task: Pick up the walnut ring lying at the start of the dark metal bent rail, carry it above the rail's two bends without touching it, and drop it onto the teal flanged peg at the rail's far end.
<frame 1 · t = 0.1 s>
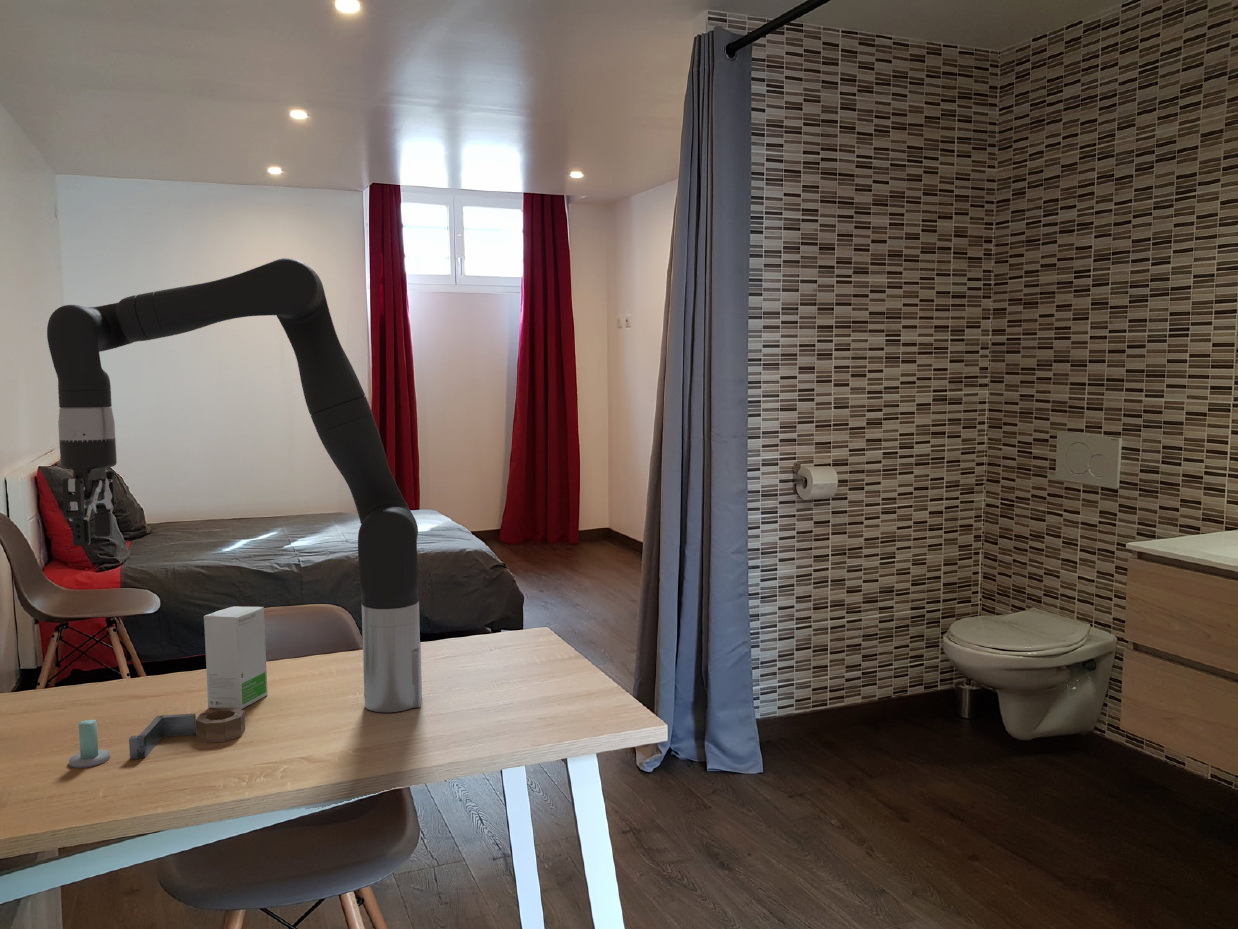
hand: (93, 540, 142), 29 cm above the table, fingers open, 8 cm apart
teal flanged peg: (89, 760, 130), on the table
skincare box: (237, 702, 154), on the table
bent rail: (151, 746, 135), on the table
walnut ring: (221, 734, 139), on the table
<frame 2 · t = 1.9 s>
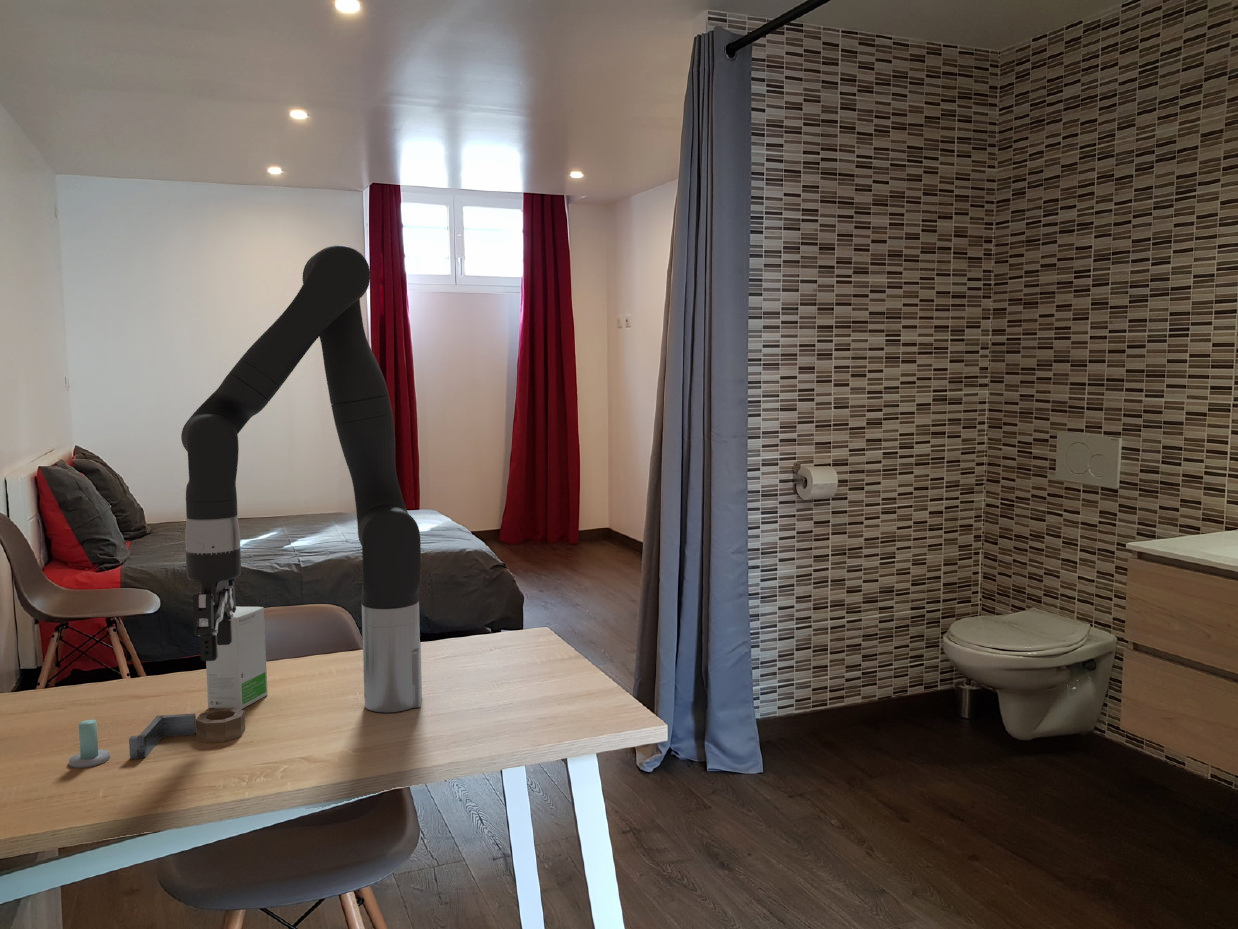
hand: (216, 652, 138), 13 cm above the table, fingers open, 8 cm apart
nothing on the table moved.
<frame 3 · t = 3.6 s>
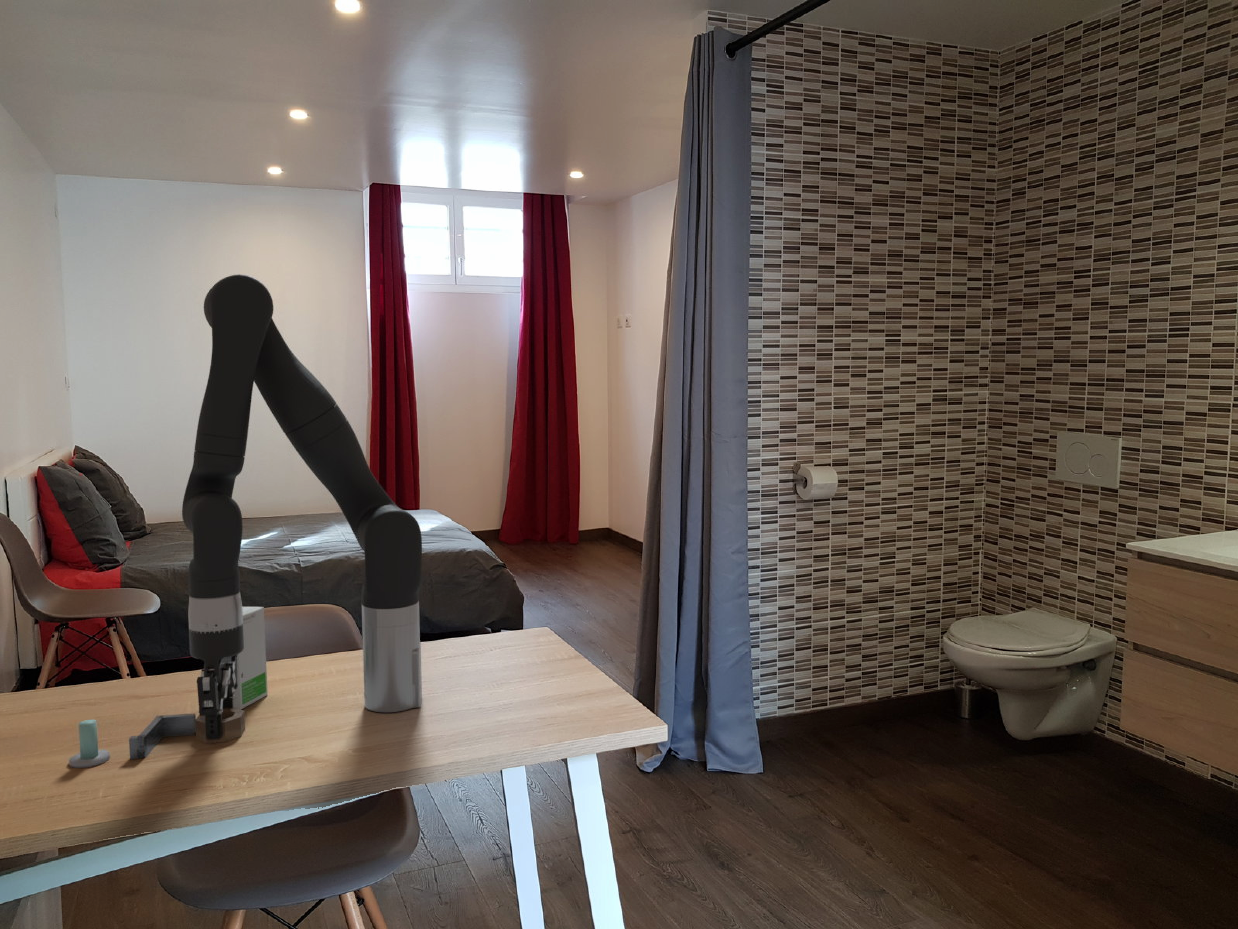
hand: (220, 729, 139), 1 cm above the table, fingers closed on walnut ring, 6 cm apart
walnut ring: (221, 734, 139), on the table, touching gripper
everything else where it was.
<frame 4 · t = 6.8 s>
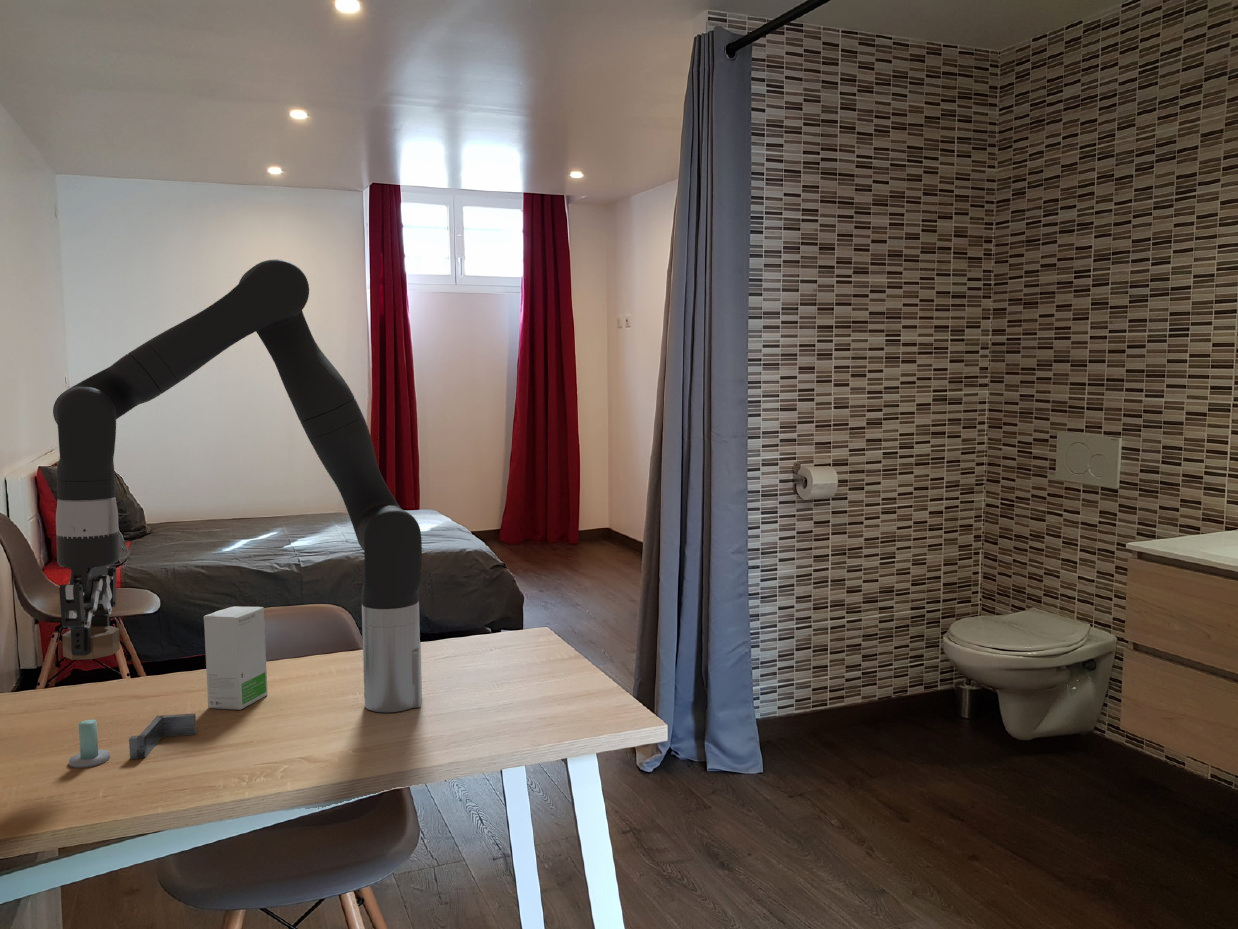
hand: (91, 647, 128), 17 cm above the table, fingers closed on walnut ring, 6 cm apart
walnut ring: (91, 652, 128), point 16 cm above the table, touching gripper
everything else where it was.
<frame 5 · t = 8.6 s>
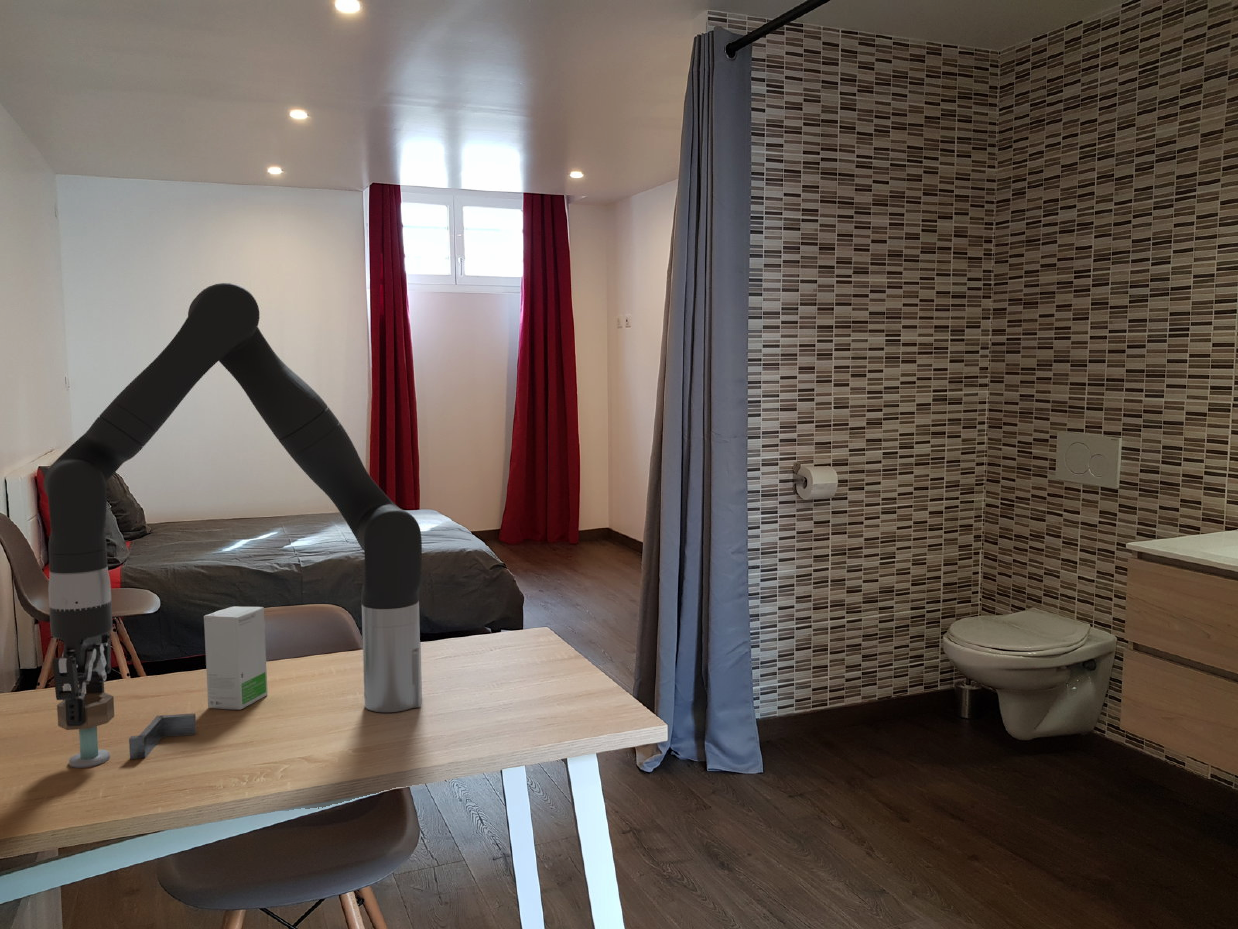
hand: (86, 716, 129), 7 cm above the table, fingers closed on walnut ring, 6 cm apart
walnut ring: (86, 721, 129), point 6 cm above the table, touching gripper
everything else where it was.
when the fingers open (4 cm above the table, at t = 10.1 s): walnut ring drops 3 cm, resting on teal flanged peg.
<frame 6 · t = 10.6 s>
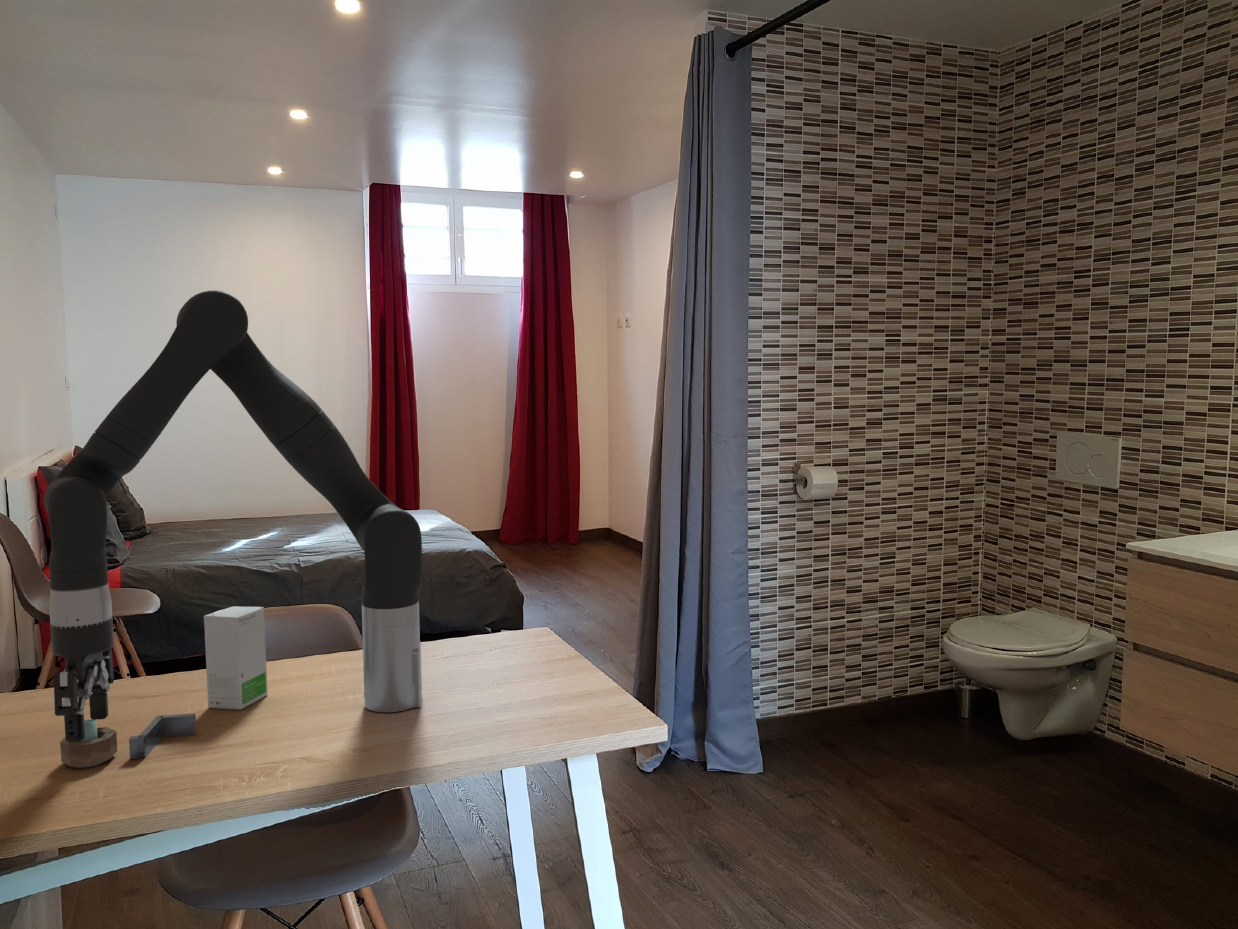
hand: (87, 729, 129), 5 cm above the table, fingers open, 8 cm apart
walnut ring: (89, 756, 130), point 1 cm above the table, touching teal flanged peg
everything else where it was.
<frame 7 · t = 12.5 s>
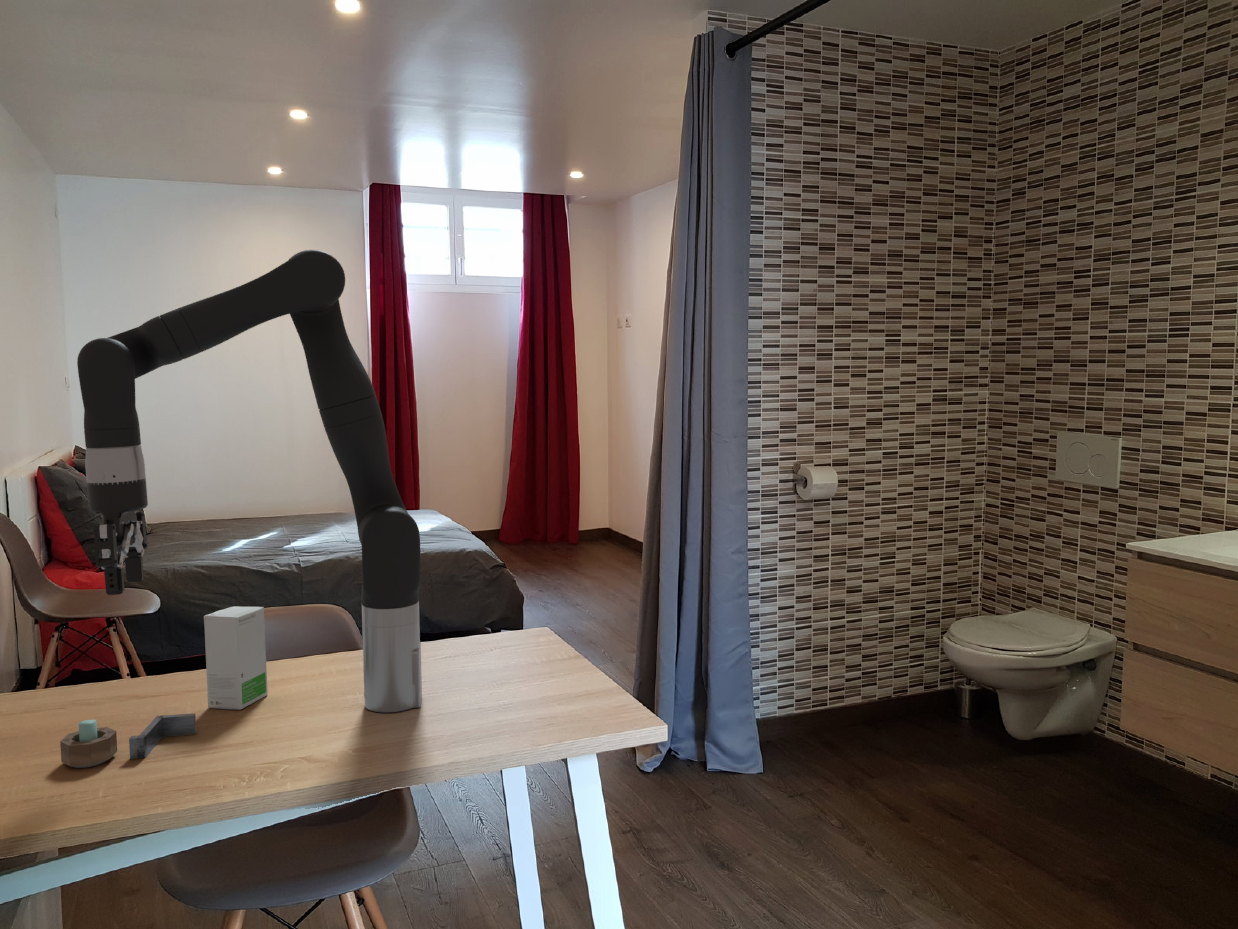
hand: (125, 587, 133), 24 cm above the table, fingers open, 8 cm apart
nothing on the table moved.
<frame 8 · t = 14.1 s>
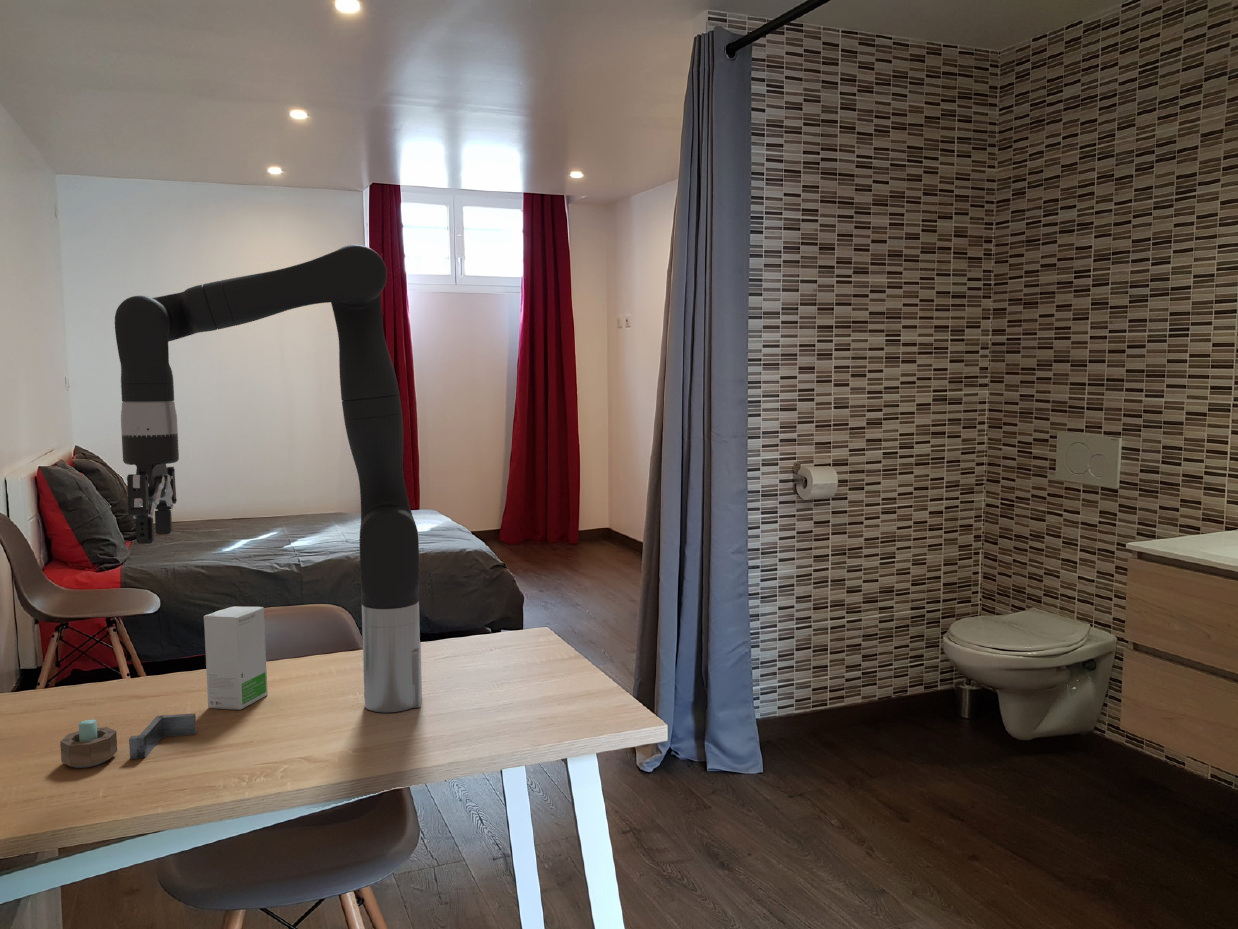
hand: (155, 538, 138), 30 cm above the table, fingers open, 8 cm apart
nothing on the table moved.
at the end: walnut ring 0.0 cm off-centre on the teal flanged peg, point 0.6 cm above the teal flanged peg's base; walnut ring touching teal flanged peg; the gripper is holding nothing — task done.
